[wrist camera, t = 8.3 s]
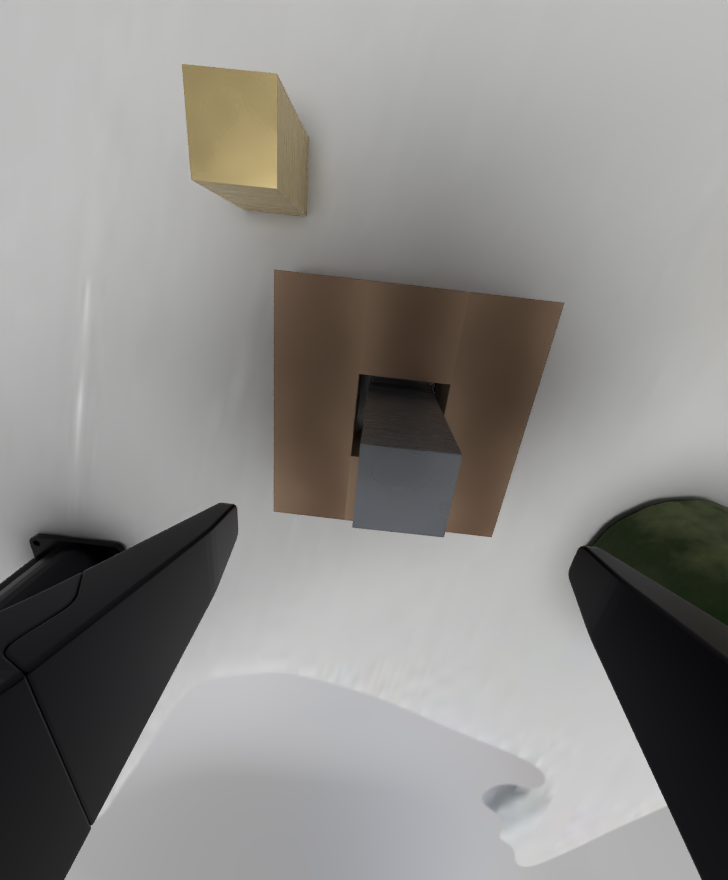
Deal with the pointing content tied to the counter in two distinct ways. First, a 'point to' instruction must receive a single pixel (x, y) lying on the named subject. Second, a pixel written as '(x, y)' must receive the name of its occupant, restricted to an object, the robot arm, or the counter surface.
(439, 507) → the long pin
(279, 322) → the socket block
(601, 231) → the counter surface
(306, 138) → the short pin
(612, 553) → the dark green bottle
